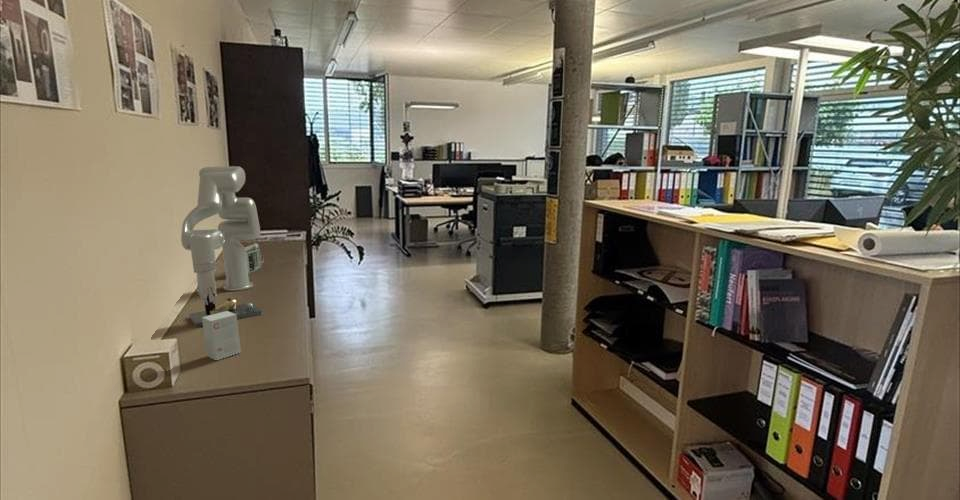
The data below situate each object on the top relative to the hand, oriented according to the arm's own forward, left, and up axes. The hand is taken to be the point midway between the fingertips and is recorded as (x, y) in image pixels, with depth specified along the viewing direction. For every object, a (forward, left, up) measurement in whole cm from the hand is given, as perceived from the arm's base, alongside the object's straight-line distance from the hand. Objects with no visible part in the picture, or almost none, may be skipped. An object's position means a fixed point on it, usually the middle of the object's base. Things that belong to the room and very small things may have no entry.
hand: (211, 314), depth 198 cm
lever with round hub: (-1, +5, -1) cm, 5 cm away
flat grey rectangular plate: (-3, +5, -3) cm, 7 cm away
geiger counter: (-75, +31, -3) cm, 82 cm away
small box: (+39, -3, -3) cm, 39 cm away
